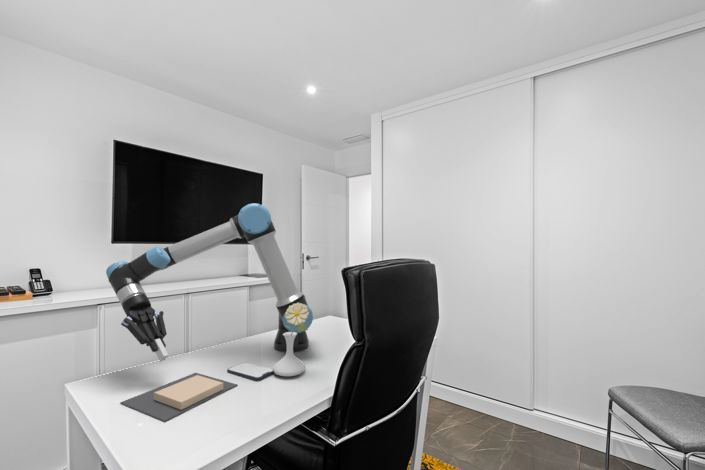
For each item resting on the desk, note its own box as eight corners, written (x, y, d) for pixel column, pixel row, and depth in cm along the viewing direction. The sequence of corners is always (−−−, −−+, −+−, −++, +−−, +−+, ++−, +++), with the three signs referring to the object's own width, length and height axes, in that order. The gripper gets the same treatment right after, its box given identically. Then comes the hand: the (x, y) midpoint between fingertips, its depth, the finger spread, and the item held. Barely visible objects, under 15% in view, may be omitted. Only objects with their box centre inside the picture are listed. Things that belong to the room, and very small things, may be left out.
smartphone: (225, 374, 114) (257, 383, 106) (225, 369, 114) (257, 378, 106) (244, 366, 122) (276, 374, 114) (244, 361, 122) (276, 369, 114)
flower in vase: (266, 376, 111) (267, 303, 111) (284, 365, 121) (285, 298, 122) (299, 382, 106) (301, 306, 107) (315, 370, 117) (316, 300, 118)
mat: (195, 373, 112) (195, 372, 112) (237, 385, 103) (237, 384, 103) (120, 403, 91) (120, 402, 91) (164, 422, 82) (164, 420, 82)
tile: (197, 375, 105) (223, 382, 99) (197, 382, 105) (223, 390, 99) (154, 392, 92) (181, 402, 87) (153, 400, 92) (181, 411, 87)
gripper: (148, 304, 117) (177, 358, 109) (108, 311, 105) (137, 372, 97) (158, 290, 114) (188, 345, 106) (117, 296, 103) (148, 357, 95)
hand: (164, 358), depth 102 cm, fingers closed
